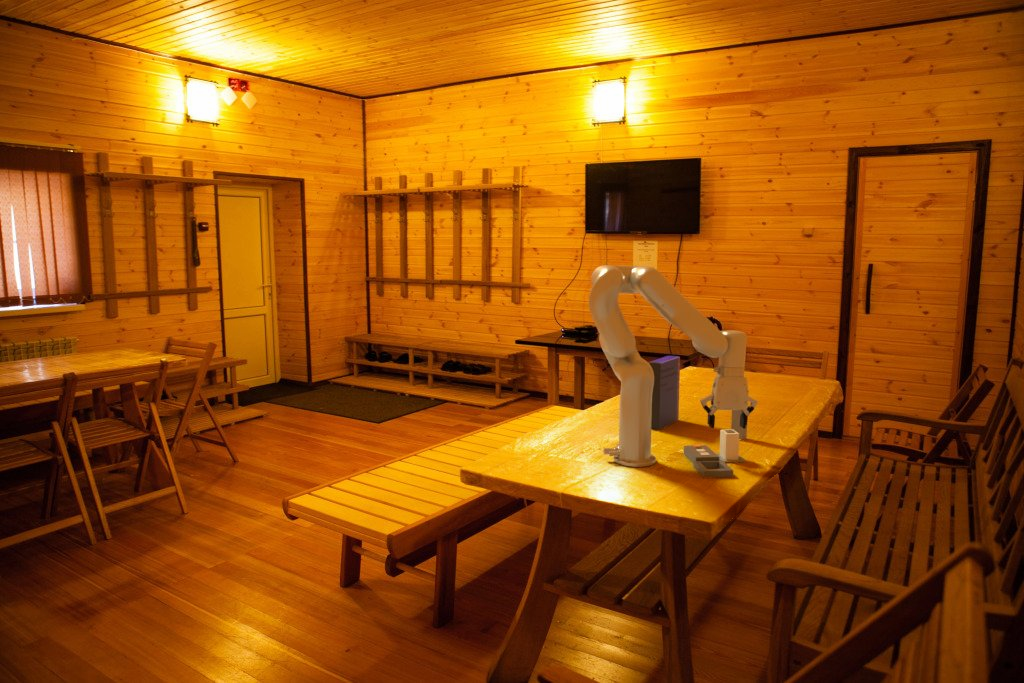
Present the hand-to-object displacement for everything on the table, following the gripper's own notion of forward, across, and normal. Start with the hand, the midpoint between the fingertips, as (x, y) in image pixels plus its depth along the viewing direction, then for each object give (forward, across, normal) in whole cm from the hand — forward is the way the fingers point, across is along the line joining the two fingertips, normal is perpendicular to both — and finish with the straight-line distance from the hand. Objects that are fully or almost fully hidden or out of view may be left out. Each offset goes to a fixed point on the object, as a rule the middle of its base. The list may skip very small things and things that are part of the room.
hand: (726, 427), depth 214 cm
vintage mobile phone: (+10, +12, +22) cm, 27 cm away
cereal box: (+10, -8, +42) cm, 44 cm away
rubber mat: (+10, +1, 0) cm, 10 cm away
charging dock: (+10, -8, -6) cm, 14 cm away
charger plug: (+9, +1, 0) cm, 9 cm away
